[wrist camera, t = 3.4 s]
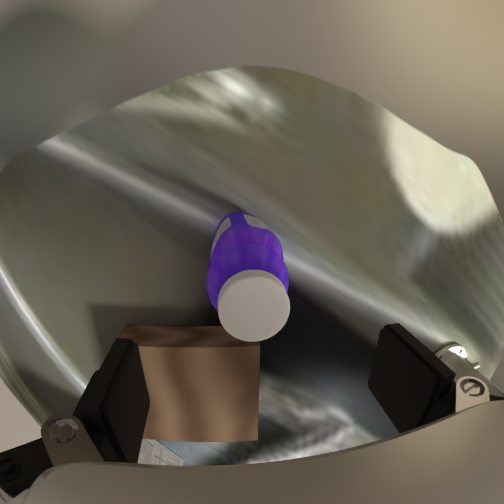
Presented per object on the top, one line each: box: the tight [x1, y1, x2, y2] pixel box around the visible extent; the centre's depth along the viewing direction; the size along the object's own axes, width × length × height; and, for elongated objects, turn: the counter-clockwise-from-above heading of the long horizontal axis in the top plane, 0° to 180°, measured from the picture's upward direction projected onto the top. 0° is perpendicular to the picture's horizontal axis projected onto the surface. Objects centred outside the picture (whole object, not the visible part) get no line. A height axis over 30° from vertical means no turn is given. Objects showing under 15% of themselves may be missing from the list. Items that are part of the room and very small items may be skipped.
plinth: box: [120, 325, 260, 442], centre depth 34 cm, size 16×16×5 cm
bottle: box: [207, 213, 290, 342], centre depth 24 cm, size 7×6×17 cm
